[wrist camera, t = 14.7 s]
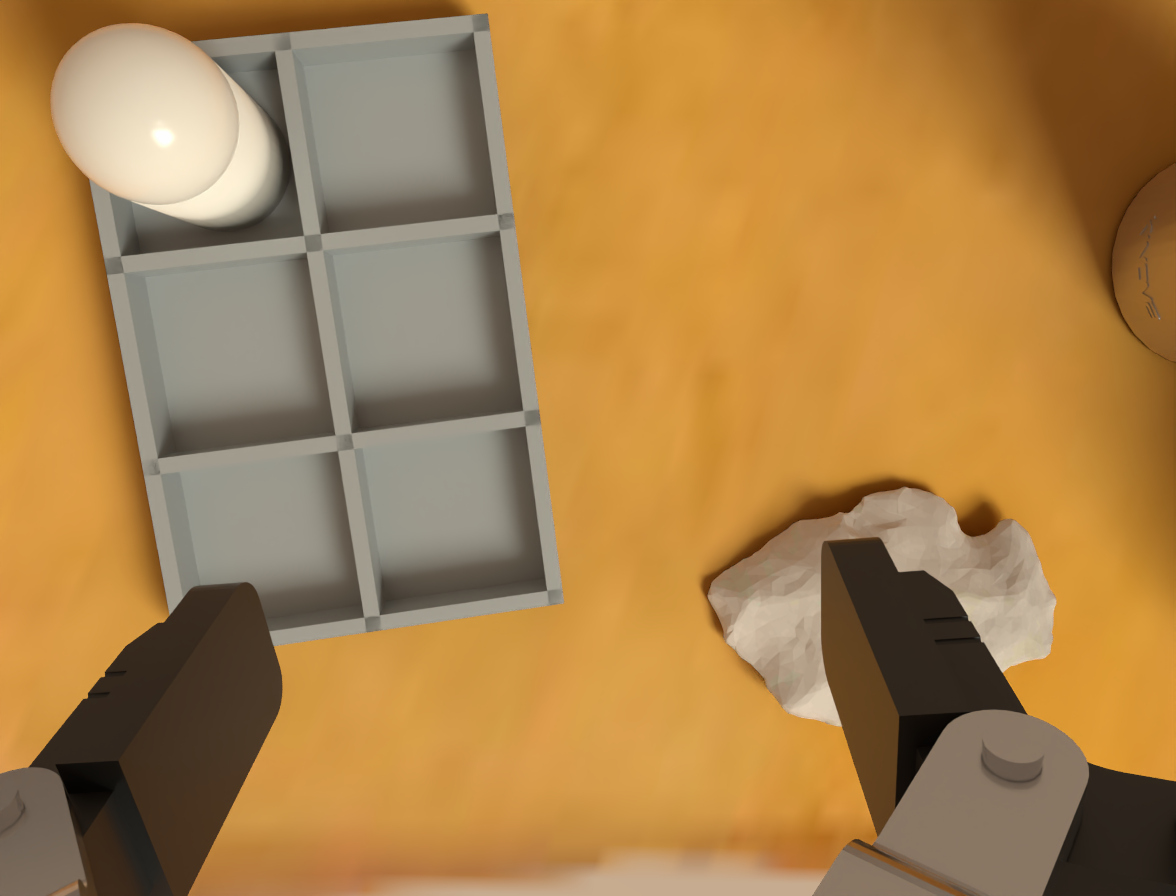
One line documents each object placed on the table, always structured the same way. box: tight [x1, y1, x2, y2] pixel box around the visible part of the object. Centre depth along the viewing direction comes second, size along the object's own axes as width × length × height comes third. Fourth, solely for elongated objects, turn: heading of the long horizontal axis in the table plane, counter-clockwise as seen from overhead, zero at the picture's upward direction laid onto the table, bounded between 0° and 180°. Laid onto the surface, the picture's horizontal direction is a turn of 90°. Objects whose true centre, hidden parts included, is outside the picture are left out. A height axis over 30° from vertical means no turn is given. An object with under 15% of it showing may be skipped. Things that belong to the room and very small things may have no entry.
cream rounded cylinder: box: [50, 23, 291, 232], centre depth 30 cm, size 5×5×10 cm
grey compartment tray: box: [89, 14, 564, 646], centre depth 36 cm, size 15×22×3 cm, turn 7°
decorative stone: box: [708, 486, 1056, 726], centre depth 39 cm, size 11×4×15 cm
